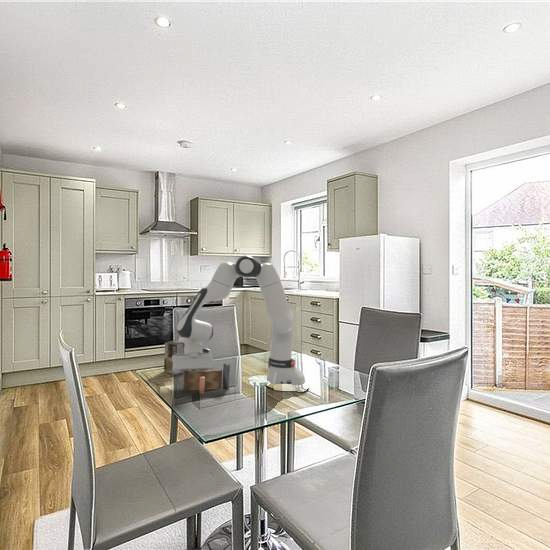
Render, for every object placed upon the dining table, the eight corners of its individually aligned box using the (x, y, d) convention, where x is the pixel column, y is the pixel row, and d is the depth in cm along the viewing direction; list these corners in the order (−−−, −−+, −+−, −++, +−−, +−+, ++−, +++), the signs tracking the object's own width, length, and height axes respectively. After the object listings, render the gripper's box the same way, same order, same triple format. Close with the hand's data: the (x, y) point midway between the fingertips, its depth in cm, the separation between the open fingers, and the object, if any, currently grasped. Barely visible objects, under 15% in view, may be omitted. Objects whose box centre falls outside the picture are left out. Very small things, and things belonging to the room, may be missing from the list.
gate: (220, 386, 196) (221, 369, 196) (221, 388, 194) (222, 370, 194) (183, 389, 190) (184, 371, 190) (183, 390, 188) (184, 372, 188)
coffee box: (184, 372, 217) (185, 342, 216) (175, 375, 212) (177, 344, 211) (172, 368, 222) (173, 340, 221) (163, 371, 216) (164, 342, 216)
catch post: (205, 392, 189) (205, 376, 188) (203, 394, 186) (203, 378, 186) (200, 391, 189) (200, 376, 189) (198, 393, 187) (199, 377, 186)
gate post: (229, 387, 197) (230, 363, 197) (227, 389, 194) (228, 365, 193) (223, 386, 198) (224, 362, 197) (221, 389, 195) (222, 364, 194)
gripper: (172, 350, 195) (172, 376, 186) (214, 350, 201) (216, 375, 193) (171, 357, 199) (171, 382, 191) (212, 356, 206) (214, 381, 197)
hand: (194, 379), depth 192 cm, fingers closed, pressing on gate
